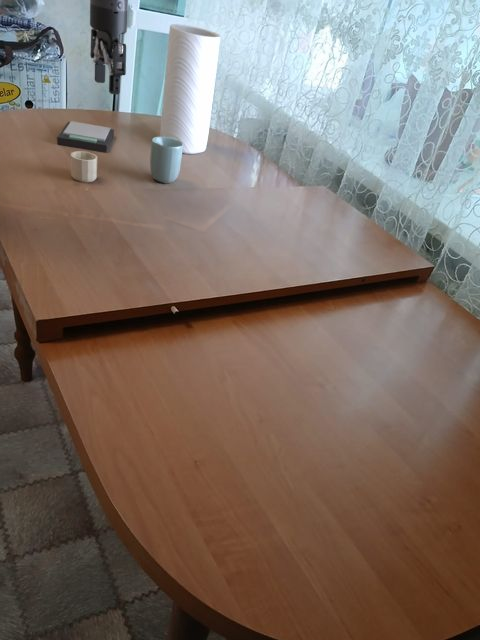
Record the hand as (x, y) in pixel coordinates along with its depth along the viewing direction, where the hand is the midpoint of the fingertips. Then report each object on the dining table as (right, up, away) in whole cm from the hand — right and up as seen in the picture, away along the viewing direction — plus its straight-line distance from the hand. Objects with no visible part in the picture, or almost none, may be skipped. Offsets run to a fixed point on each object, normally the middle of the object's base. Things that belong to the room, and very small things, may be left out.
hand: (106, 88), depth 122 cm
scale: (-15, +1, +33) cm, 36 cm away
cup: (+9, -15, +20) cm, 27 cm away
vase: (+11, +3, +45) cm, 46 cm away
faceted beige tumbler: (-9, -17, +11) cm, 22 cm away
